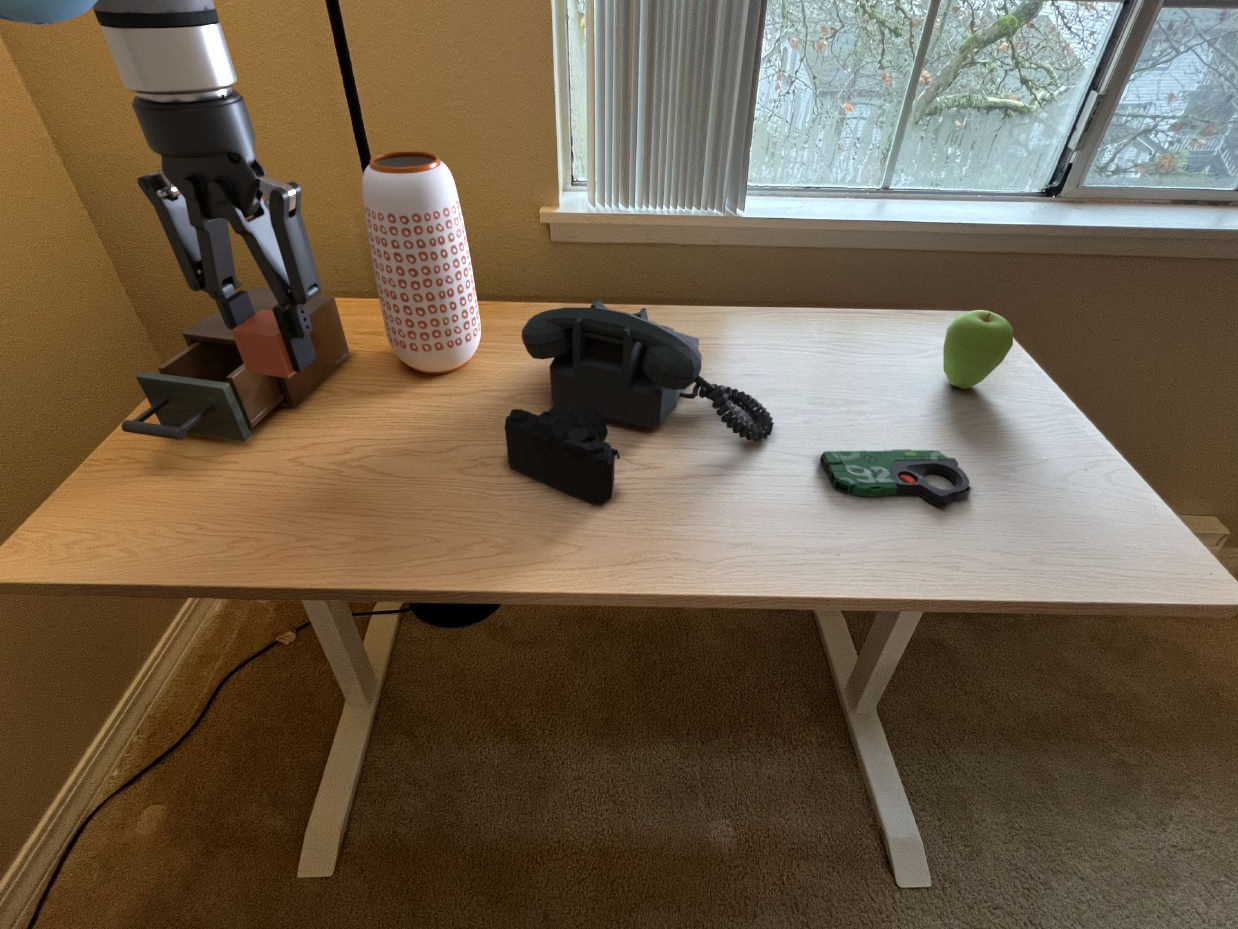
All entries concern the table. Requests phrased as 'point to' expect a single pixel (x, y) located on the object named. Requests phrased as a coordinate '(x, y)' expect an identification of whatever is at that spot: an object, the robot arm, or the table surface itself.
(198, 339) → the cabinet
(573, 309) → the rotary telephone
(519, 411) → the film camera
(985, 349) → the apple
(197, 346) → the drawer
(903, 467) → the gun
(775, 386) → the table surface
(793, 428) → the table surface
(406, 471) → the table surface
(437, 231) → the white patterned cylinder
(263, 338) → the block
